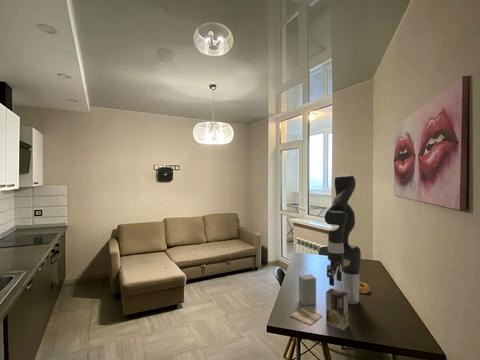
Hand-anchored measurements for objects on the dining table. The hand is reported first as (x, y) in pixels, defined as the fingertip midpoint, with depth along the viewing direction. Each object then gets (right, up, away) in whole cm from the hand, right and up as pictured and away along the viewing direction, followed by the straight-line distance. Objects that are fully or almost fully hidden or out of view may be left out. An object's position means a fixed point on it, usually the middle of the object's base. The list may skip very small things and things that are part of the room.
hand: (335, 283), depth 129 cm
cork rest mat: (-13, -21, +7) cm, 25 cm away
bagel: (+32, -21, +39) cm, 55 cm away
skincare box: (-8, -21, +22) cm, 31 cm away
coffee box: (+1, -21, 0) cm, 21 cm away
